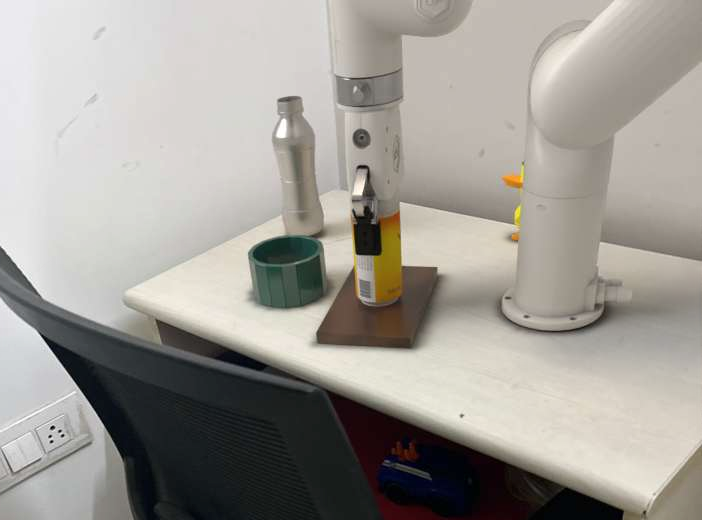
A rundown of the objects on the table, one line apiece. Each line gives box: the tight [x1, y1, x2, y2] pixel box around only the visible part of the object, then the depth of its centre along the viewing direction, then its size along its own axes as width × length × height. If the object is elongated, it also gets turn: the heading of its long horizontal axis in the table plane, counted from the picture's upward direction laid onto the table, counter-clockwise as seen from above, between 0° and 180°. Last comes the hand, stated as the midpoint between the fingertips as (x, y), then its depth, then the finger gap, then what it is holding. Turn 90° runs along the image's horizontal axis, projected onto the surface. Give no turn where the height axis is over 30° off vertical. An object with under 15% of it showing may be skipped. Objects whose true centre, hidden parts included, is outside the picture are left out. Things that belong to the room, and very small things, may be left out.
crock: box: [247, 234, 329, 309], centre depth 108 cm, size 10×10×6 cm
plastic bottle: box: [271, 95, 325, 237], centre depth 118 cm, size 6×7×20 cm
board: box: [315, 265, 439, 349], centre depth 103 cm, size 12×20×2 cm, turn 164°
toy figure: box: [501, 160, 524, 241], centre depth 112 cm, size 7×4×12 cm, turn 46°
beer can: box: [348, 178, 403, 306], centre depth 97 cm, size 6×6×15 cm
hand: (377, 238), depth 97 cm, fingers open, 9 cm apart
